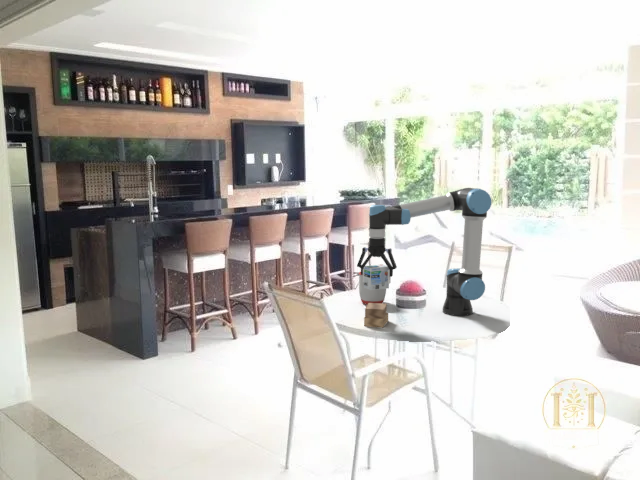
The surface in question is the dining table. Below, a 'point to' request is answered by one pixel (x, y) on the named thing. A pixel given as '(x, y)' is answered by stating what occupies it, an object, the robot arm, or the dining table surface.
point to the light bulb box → (376, 277)
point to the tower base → (376, 322)
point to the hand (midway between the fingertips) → (376, 282)
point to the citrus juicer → (370, 293)
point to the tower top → (376, 310)
